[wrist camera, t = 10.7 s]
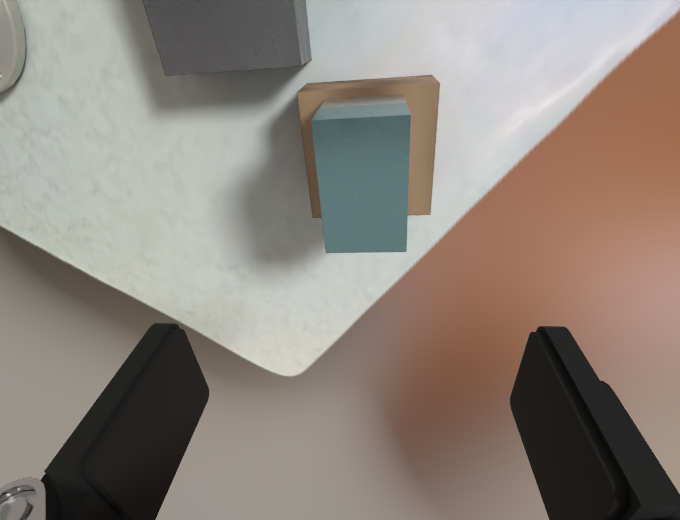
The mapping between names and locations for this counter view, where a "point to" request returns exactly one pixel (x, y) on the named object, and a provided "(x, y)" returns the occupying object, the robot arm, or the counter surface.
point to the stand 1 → (228, 34)
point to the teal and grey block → (363, 172)
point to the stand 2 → (422, 129)
